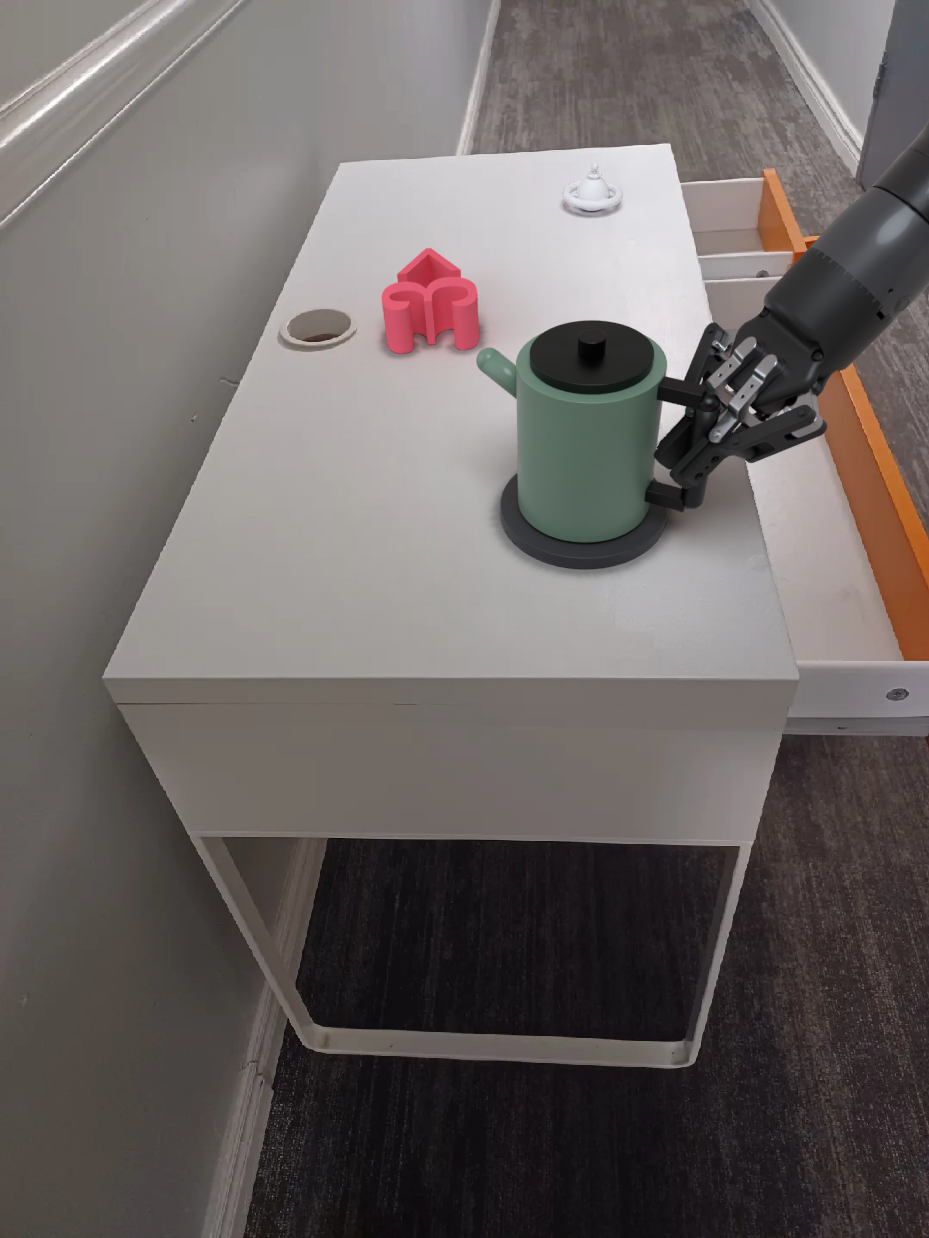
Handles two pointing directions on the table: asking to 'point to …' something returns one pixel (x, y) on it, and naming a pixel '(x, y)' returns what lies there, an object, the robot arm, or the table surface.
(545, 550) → the kettle base
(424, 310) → the pink curled block
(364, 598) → the table surface
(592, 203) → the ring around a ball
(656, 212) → the table surface
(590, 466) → the kettle
